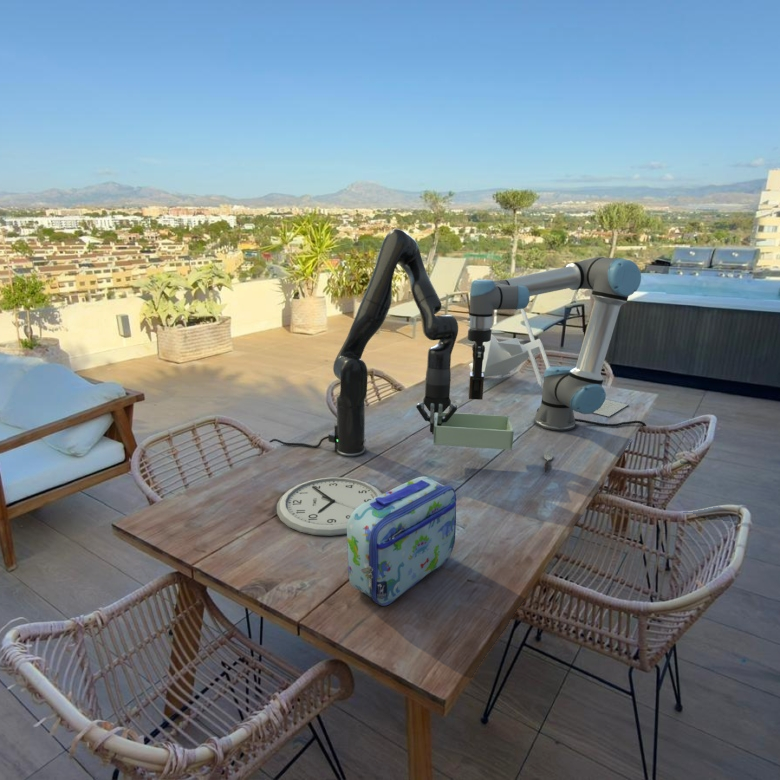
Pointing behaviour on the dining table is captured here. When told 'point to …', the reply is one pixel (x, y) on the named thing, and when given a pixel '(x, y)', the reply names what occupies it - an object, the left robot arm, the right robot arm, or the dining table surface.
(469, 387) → the walnut block
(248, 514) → the dining table surface
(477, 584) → the dining table surface
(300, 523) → the wall clock
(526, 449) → the dining table surface
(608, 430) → the dining table surface
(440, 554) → the lunch box
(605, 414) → the invitation card
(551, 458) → the fork
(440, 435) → the tote
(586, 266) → the right robot arm
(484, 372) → the white plastic object
